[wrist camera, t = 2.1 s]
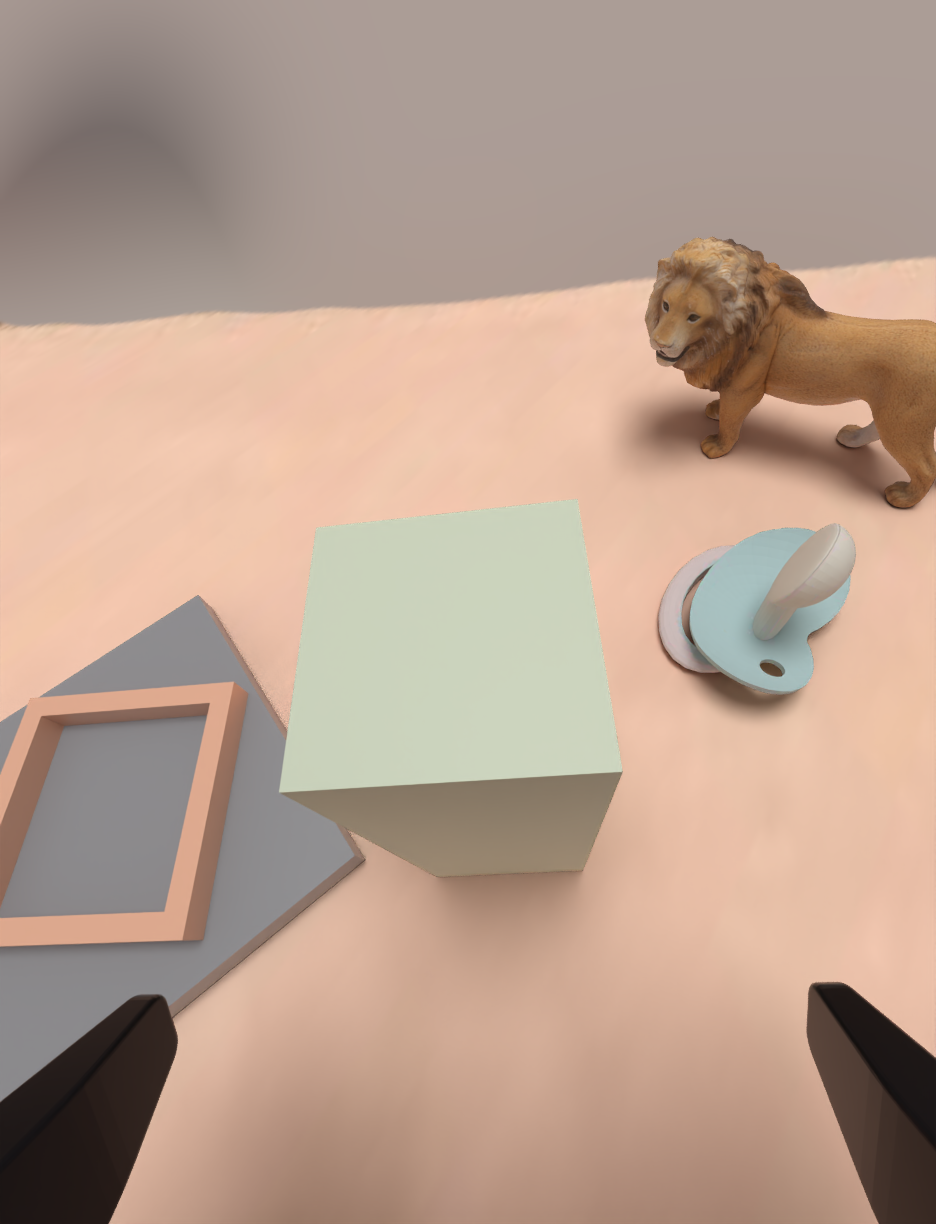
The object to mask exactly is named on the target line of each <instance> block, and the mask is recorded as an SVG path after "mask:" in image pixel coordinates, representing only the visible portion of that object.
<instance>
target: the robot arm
mask: <svg viewBox="0 0 936 1224" xmlns="http://www.w3.org/2000/svg"><path fill="white" fill-rule="evenodd" d="M807 1038H808V1043H809V1047H810V1050H811V1053H812V1056H813V1058H814V1061H815V1063H816V1066H817V1069H818V1071H819V1074H820V1077H821V1079H822V1082H823V1084H824V1087H825V1090H826V1092H827V1095H828V1097H829V1100H830V1103H831V1105H832V1108H833V1110H834V1113H835V1116H836V1118H837V1121H838V1123H839V1126H840V1129H841V1131H842V1134H843V1136H844V1139H845V1142H846V1144H847V1147H848V1149H849V1152H850V1155H851V1157H852V1160H853V1162H854V1165H855V1168H856V1170H857V1173H858V1175H859V1178H860V1180H861V1183H862V1185H863V1188H864V1190H865V1193H866V1195H867V1198H868V1200H869V1203H870V1205H871V1208H872V1210H873V1212H874V1214H875V1216H876V1219H877V1221H878V1223H879V1224H936V1057H934V1056H933V1055H932V1054H931V1053H929V1052H928V1051H927V1050H926V1049H925V1048H923V1047H922V1046H921V1045H920V1044H919V1043H917V1042H916V1041H915V1040H914V1039H913V1038H911V1037H910V1036H909V1035H908V1034H907V1033H905V1032H904V1031H903V1030H902V1029H901V1028H899V1027H898V1026H897V1025H896V1024H895V1023H893V1022H892V1021H891V1020H890V1019H889V1018H887V1017H886V1016H885V1015H884V1014H883V1013H881V1012H880V1011H879V1010H878V1009H877V1008H875V1007H874V1006H873V1005H872V1004H870V1003H869V1002H868V1001H867V1000H866V999H864V998H863V997H862V996H861V995H860V994H858V993H857V992H856V991H855V990H854V989H852V988H851V987H850V986H848V985H846V984H844V983H841V982H816V983H812V984H811V986H810V987H809V992H808V1011H807ZM177 1044H178V1036H177V1032H176V1029H175V1025H174V1022H173V1019H172V1016H171V1013H170V1009H169V1006H168V1003H167V1000H166V998H165V997H164V996H162V995H160V994H141V995H136V996H134V997H132V998H130V999H129V1000H127V1001H126V1002H125V1003H123V1004H122V1005H121V1006H120V1007H118V1008H117V1009H116V1010H115V1011H113V1012H112V1013H111V1014H110V1015H108V1016H107V1017H106V1018H105V1019H103V1020H102V1021H101V1022H100V1023H98V1024H97V1025H96V1026H95V1027H93V1028H92V1029H91V1030H89V1031H88V1032H87V1033H86V1034H84V1035H83V1036H82V1037H81V1038H79V1039H78V1040H77V1041H76V1042H74V1043H73V1044H72V1045H71V1046H69V1047H68V1048H67V1049H66V1050H64V1051H63V1052H62V1053H61V1054H59V1055H58V1056H57V1057H56V1058H54V1059H53V1060H52V1061H51V1062H49V1063H48V1064H47V1065H45V1066H44V1067H43V1068H42V1069H40V1070H39V1071H38V1072H37V1073H35V1074H34V1075H33V1076H32V1077H30V1078H29V1079H28V1080H27V1081H25V1082H24V1083H23V1084H22V1085H20V1086H19V1087H18V1088H17V1089H15V1090H14V1091H13V1092H12V1093H10V1094H9V1095H8V1096H7V1097H5V1098H4V1099H3V1100H2V1101H0V1224H109V1222H110V1220H111V1218H112V1216H113V1213H114V1211H115V1209H116V1207H117V1204H118V1202H119V1200H120V1198H121V1195H122V1193H123V1191H124V1188H125V1186H126V1183H127V1181H128V1179H129V1176H130V1174H131V1171H132V1169H133V1166H134V1164H135V1161H136V1158H137V1156H138V1153H139V1150H140V1148H141V1145H142V1142H143V1140H144V1137H145V1135H146V1132H147V1129H148V1127H149V1124H150V1121H151V1119H152V1116H153V1113H154V1111H155V1108H156V1106H157V1103H158V1100H159V1098H160V1095H161V1092H162V1090H163V1087H164V1084H165V1082H166V1079H167V1077H168V1074H169V1071H170V1069H171V1066H172V1063H173V1061H174V1058H175V1055H176V1051H177Z"/></svg>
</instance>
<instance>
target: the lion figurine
mask: <svg viewBox="0 0 936 1224" xmlns="http://www.w3.org/2000/svg"><path fill="white" fill-rule="evenodd" d="M645 322H646V325H647V329H648V333H649V337H650V344H651V347H652V348H653V349H655V350H656V359H657V362H658V364H660V365H661V366H665V367H669V366H673V367H674V368H677V369H680V370H683V371H684V374H685V377H686V380H687V383H689V384H691V385H692V386H694V387H697V388H700V389H710V391H712V392H713V391H718V392H719V393H720V399H719V400H715V401H713V402H711V403H709V404H708V405H707V408H706V415H707V416H708V417H710V418H712V419H717V420H719V428H720V429H719V434H716V435H710V436H708V437H707V438H706V439H705V440H703V441H702V443H701V447H702V450H703V452H704V453H705V454H706V455H707V456H708V457H709V458H716V457H720V456H722V455H724V454H726V453H728V452H729V451H730V450H731V449H732V447H733V445H734V444H735V443H736V442H737V441H738V439H739V435H740V429H741V426H742V424H743V421H744V420H745V418H746V416H747V415H748V414H749V412H750V411H751V409H752V408H753V407H755V406H756V405H757V404H758V403H759V402H760V401H761V399H762V398H763V396H764V393H765V394H768V395H771V396H774V397H777V398H780V399H783V400H787V401H791V402H795V403H799V404H808V405H821V406H823V405H836V404H841V403H846V402H851V401H855V400H860V399H862V400H864V401H866V402H867V403H868V404H869V406H870V408H871V411H872V415H873V419H874V420H873V422H872V423H871V424H869V425H868V426H866V427H864V428H861V427H859V426H857V425H846V426H845V427H843V428H842V429H841V430H840V431H839V433H838V435H837V440H838V441H839V442H840V443H842V444H844V445H846V446H849V447H860V446H863V445H865V444H868V443H871V442H874V441H876V440H879V439H880V440H881V442H882V444H883V446H884V447H885V449H886V450H887V451H888V452H889V453H890V454H891V455H892V456H893V457H894V458H895V459H896V461H897V462H898V463H899V464H900V465H901V466H902V467H903V468H904V469H905V470H906V472H907V473H908V475H909V476H910V478H911V482H895V483H894V484H892V485H890V486H888V487H887V488H886V490H885V494H886V499H887V500H888V502H889V503H891V504H892V505H894V506H897V507H911V506H913V505H915V504H917V503H918V502H919V501H921V500H922V498H923V497H924V496H925V495H926V494H927V492H928V491H929V489H930V487H931V485H932V484H933V482H934V480H935V478H936V452H935V450H934V430H935V427H936V323H934V322H932V321H928V320H912V319H911V320H882V319H868V318H859V317H851V316H845V315H840V314H836V313H832V312H828V311H824V310H823V309H822V308H820V307H818V306H817V305H816V304H815V303H814V302H813V300H812V299H811V297H810V296H809V293H808V291H807V289H806V287H805V286H804V284H803V283H802V282H801V281H800V280H799V279H798V278H796V277H795V276H793V275H790V274H789V273H788V272H787V271H783V270H780V268H779V266H778V265H777V264H776V263H769V264H767V262H765V261H764V257H763V254H762V253H761V252H760V251H752V250H750V249H749V248H747V247H746V246H743V245H741V244H736V243H735V242H734V241H733V240H732V239H728V240H726V241H722V240H720V239H716V238H715V237H710V238H708V239H706V240H703V239H701V238H695V239H693V240H691V241H690V242H688V243H686V244H684V245H683V246H682V247H680V248H679V249H678V250H676V251H674V252H673V254H672V256H671V257H670V258H664V259H660V260H659V262H658V271H657V280H656V282H655V283H654V290H653V292H652V294H651V296H650V299H649V305H648V309H647V312H646V315H645Z"/></svg>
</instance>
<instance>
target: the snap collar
mask: <svg viewBox="0 0 936 1224" xmlns="http://www.w3.org/2000/svg"><path fill="white" fill-rule="evenodd" d="M247 699H248V693H247V692H246V691H245V690H244V689H242V688H241V687H240V686H239V685H237V684H236V683H235V682H224V683H211V684H199V685H187V686H175V687H163V688H150V689H138V690H126V691H114V692H102V693H89V694H77V695H65V696H53V697H40V698H30V700H29V703H28V705H27V708H26V710H25V713H24V715H23V718H22V720H21V723H20V726H19V728H18V731H17V733H16V736H15V738H14V741H13V743H12V746H11V748H10V751H9V754H8V756H7V759H6V761H5V764H4V766H3V769H2V771H1V774H0V908H1V905H2V902H3V899H4V896H5V893H6V890H7V888H8V885H9V882H10V879H11V876H12V873H13V871H14V868H15V865H16V862H17V859H18V856H19V853H20V851H21V848H22V845H23V842H24V839H25V836H26V833H27V831H28V828H29V825H30V822H31V819H32V816H33V814H34V811H35V808H36V805H37V802H38V799H39V796H40V794H41V791H42V788H43V785H44V782H45V779H46V776H47V774H48V771H49V768H50V765H51V762H52V759H53V756H54V754H55V751H56V748H57V745H58V742H59V739H60V737H61V734H62V731H63V728H64V726H71V725H84V724H97V723H110V722H123V721H136V720H149V719H163V718H176V717H189V716H202V715H207V719H206V724H205V728H204V733H203V737H202V742H201V746H200V751H199V756H198V760H197V765H196V769H195V774H194V778H193V783H192V788H191V792H190V797H189V801H188V806H187V810H186V815H185V820H184V824H183V829H182V833H181V838H180V842H179V847H178V852H177V856H176V861H175V865H174V870H173V874H172V879H171V884H170V888H169V893H168V897H167V902H166V907H165V911H164V912H143V913H117V914H92V915H66V916H41V917H15V918H0V947H14V946H44V945H73V944H103V943H133V942H163V941H193V940H203V939H204V933H205V928H206V922H207V917H208V911H209V906H210V900H211V895H212V890H213V884H214V879H215V873H216V868H217V862H218V857H219V851H220V846H221V841H222V835H223V830H224V824H225V819H226V813H227V808H228V802H229V797H230V791H231V786H232V781H233V775H234V770H235V764H236V759H237V753H238V748H239V742H240V737H241V731H242V726H243V721H244V715H245V710H246V704H247Z"/></svg>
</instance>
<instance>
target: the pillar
mask: <svg viewBox="0 0 936 1224" xmlns="http://www.w3.org/2000/svg"><path fill="white" fill-rule="evenodd" d="M622 772H623V771H622V765H621V759H620V753H619V746H618V740H617V734H616V728H615V722H614V716H613V710H612V704H611V698H610V692H609V686H608V680H607V674H606V668H605V662H604V656H603V650H602V644H601V638H600V632H599V626H598V620H597V614H596V608H595V602H594V596H593V590H592V584H591V578H590V572H589V566H588V560H587V554H586V548H585V542H584V536H583V530H582V524H581V518H580V512H579V506H578V500H577V499H574V500H565V501H556V502H546V503H537V504H528V505H519V506H510V507H501V508H492V509H483V510H473V511H464V512H455V513H446V514H437V515H428V516H419V517H410V518H400V519H391V520H382V521H373V522H364V523H355V524H346V525H337V526H327V527H318V528H316V533H315V540H314V547H313V554H312V561H311V568H310V575H309V582H308V590H307V597H306V604H305V611H304V618H303V625H302V632H301V639H300V646H299V654H298V661H297V668H296V675H295V682H294V689H293V696H292V703H291V710H290V718H289V725H288V732H287V739H286V746H285V753H284V760H283V767H282V774H281V782H280V789H279V793H281V794H283V795H284V796H286V797H288V798H290V799H292V800H294V801H296V802H298V803H299V804H301V805H303V806H305V807H307V808H309V809H311V810H312V811H314V812H316V813H318V814H320V815H322V816H324V817H326V818H327V819H329V820H331V821H333V822H335V823H337V824H339V825H341V826H342V827H344V828H346V829H348V830H350V831H352V832H354V833H356V834H357V835H359V836H361V837H363V838H365V839H367V840H369V841H370V842H372V843H374V844H376V845H378V846H380V847H382V848H384V849H385V850H387V851H389V852H391V853H393V854H395V855H397V856H399V857H400V858H402V859H404V860H406V861H408V862H410V863H412V864H413V865H415V866H417V867H419V868H421V869H423V870H425V871H427V872H428V873H430V874H432V875H434V876H436V877H449V876H472V875H495V874H518V873H541V872H564V871H583V869H584V867H585V864H586V862H587V859H588V857H589V854H590V852H591V849H592V847H593V844H594V842H595V839H596V837H597V834H598V832H599V829H600V827H601V824H602V822H603V819H604V817H605V814H606V812H607V809H608V807H609V804H610V802H611V800H612V797H613V795H614V792H615V790H616V787H617V785H618V782H619V780H620V777H621V775H622Z"/></svg>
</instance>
